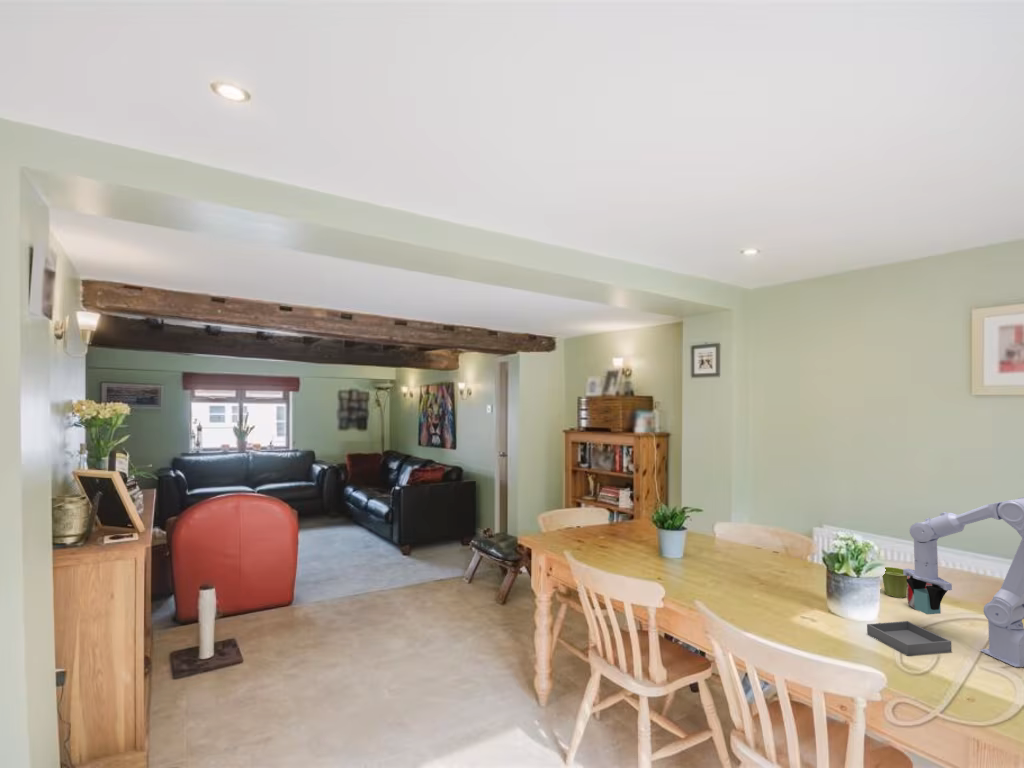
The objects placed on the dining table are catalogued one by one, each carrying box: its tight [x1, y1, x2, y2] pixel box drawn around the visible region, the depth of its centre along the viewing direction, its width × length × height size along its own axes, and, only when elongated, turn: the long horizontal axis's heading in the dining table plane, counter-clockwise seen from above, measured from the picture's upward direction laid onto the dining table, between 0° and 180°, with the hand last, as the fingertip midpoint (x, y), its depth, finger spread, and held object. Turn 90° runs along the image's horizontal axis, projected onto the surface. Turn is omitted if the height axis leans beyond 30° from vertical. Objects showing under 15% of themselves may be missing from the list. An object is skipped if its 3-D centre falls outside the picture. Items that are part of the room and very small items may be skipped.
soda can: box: [906, 576, 932, 609], centre depth 183 cm, size 7×7×12 cm
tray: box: [866, 620, 952, 657], centre depth 157 cm, size 14×14×3 cm
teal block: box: [913, 588, 942, 615], centre depth 165 cm, size 4×4×6 cm
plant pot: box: [881, 566, 907, 599], centre depth 195 cm, size 9×9×9 cm
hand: (927, 606), depth 165 cm, fingers closed on teal block, 4 cm apart
